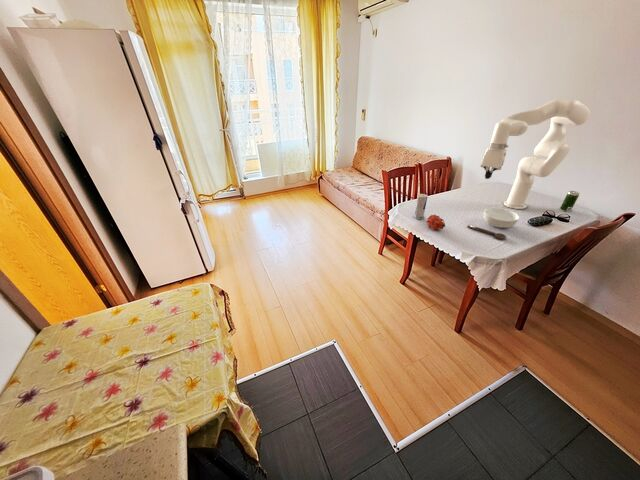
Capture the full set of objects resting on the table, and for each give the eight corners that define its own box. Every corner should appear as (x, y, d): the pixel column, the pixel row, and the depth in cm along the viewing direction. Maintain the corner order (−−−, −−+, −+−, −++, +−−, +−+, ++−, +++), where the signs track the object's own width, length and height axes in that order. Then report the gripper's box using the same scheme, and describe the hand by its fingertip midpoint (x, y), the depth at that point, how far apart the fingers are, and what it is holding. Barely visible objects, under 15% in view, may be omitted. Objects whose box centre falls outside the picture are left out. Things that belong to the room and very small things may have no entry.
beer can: (572, 211, 157) (582, 193, 150) (564, 212, 157) (573, 194, 150) (565, 208, 161) (574, 190, 155) (557, 208, 161) (566, 191, 155)
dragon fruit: (425, 225, 155) (441, 236, 147) (420, 221, 149) (436, 232, 141) (435, 214, 152) (451, 224, 144) (429, 209, 146) (446, 220, 138)
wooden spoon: (465, 228, 146) (466, 225, 145) (469, 225, 149) (470, 222, 148) (503, 241, 133) (504, 238, 133) (506, 237, 136) (507, 234, 135)
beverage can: (424, 219, 158) (428, 197, 150) (414, 219, 159) (418, 196, 151) (422, 215, 163) (426, 193, 155) (413, 215, 164) (417, 193, 156)
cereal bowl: (478, 226, 148) (481, 215, 144) (483, 215, 158) (487, 205, 155) (512, 234, 138) (517, 223, 134) (516, 222, 149) (520, 211, 145)
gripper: (515, 146, 137) (503, 179, 147) (485, 143, 147) (476, 174, 156) (510, 149, 133) (499, 182, 143) (480, 145, 143) (471, 177, 152)
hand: (487, 178), depth 150 cm, fingers closed
